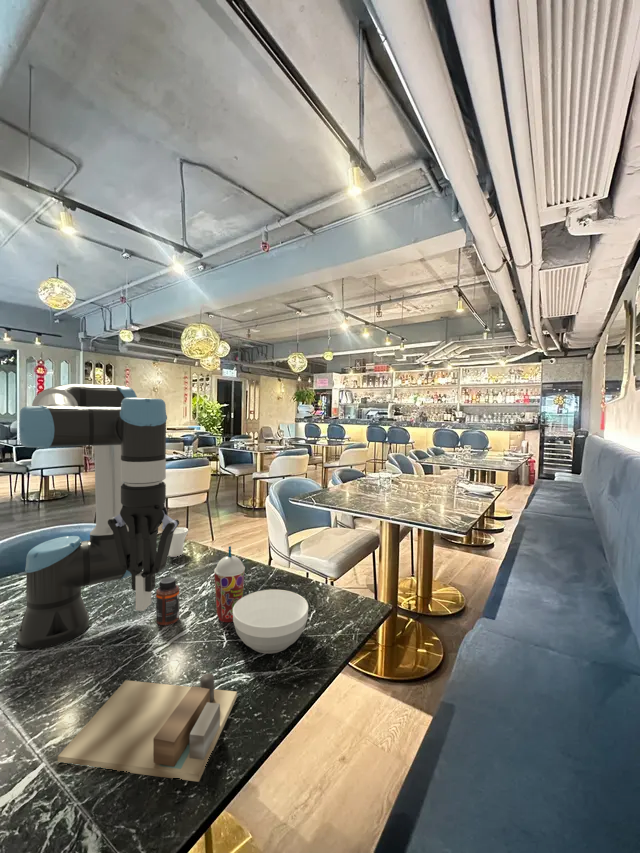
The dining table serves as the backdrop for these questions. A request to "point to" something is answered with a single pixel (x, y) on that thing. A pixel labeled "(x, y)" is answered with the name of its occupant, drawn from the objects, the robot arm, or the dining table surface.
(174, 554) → the cup
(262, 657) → the dining table surface
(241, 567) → the smoothie
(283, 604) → the bowl
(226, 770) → the dining table surface
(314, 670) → the dining table surface
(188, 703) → the leg
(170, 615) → the supplement bottle
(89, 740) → the board
